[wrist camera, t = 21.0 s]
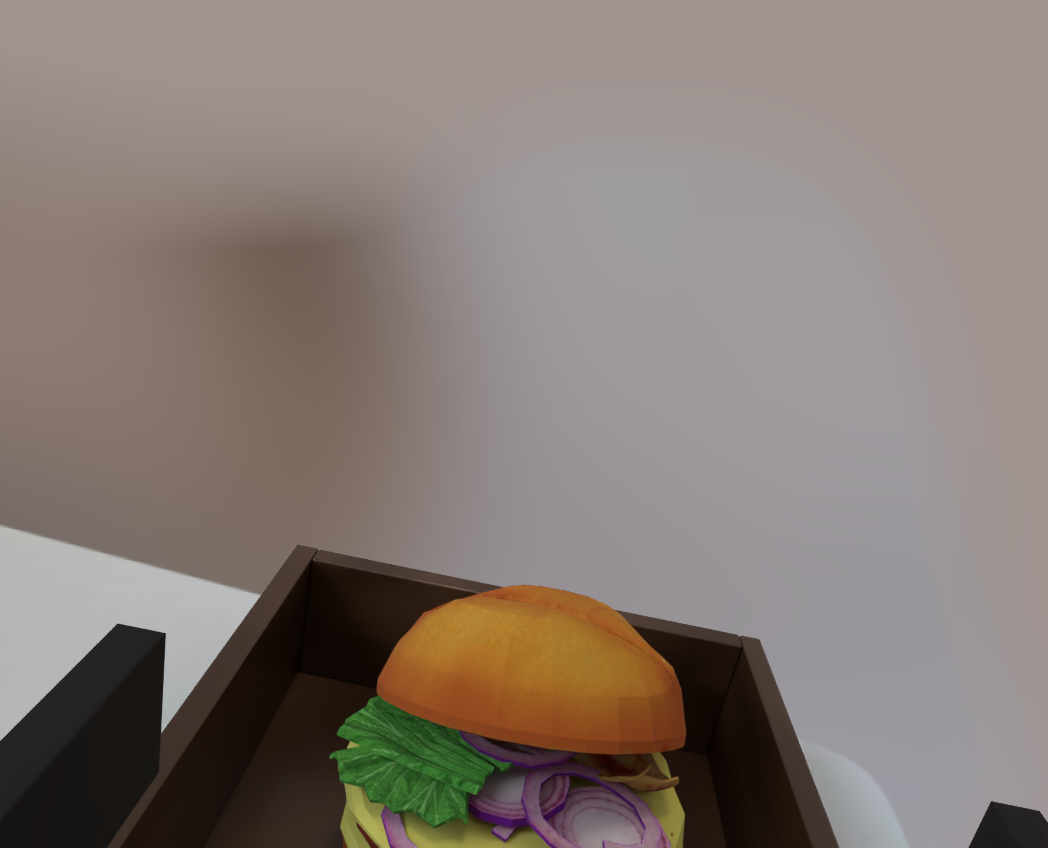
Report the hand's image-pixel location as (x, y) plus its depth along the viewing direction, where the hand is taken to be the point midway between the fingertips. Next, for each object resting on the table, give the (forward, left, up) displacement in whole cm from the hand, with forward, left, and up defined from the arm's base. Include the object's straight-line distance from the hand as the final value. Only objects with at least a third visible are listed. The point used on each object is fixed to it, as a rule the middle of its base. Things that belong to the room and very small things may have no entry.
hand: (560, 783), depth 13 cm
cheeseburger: (0, -8, -11) cm, 14 cm away
